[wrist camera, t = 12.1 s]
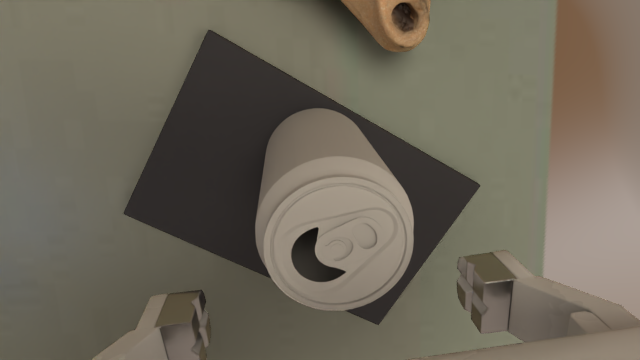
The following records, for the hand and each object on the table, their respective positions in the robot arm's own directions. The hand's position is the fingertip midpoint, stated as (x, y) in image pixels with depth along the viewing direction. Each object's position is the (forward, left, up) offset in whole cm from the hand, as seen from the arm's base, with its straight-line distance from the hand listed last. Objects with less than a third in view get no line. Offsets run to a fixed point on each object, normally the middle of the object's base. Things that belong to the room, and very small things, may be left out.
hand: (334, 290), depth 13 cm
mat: (+1, -3, -15) cm, 15 cm away
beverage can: (0, 0, -15) cm, 15 cm away
